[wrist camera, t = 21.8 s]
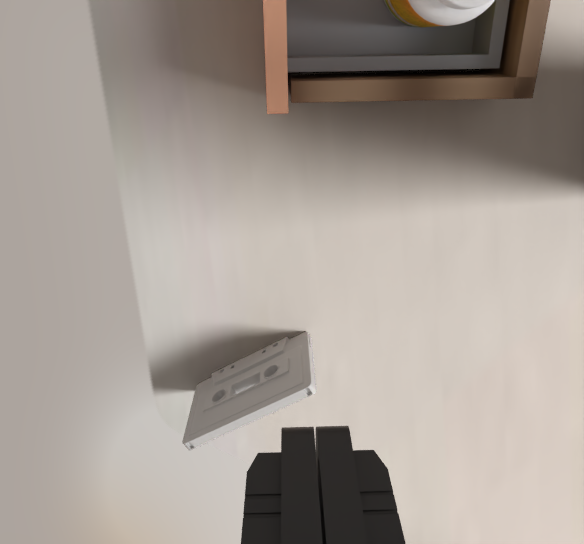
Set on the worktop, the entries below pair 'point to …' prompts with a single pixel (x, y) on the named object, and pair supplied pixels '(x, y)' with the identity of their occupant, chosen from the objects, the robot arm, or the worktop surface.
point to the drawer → (369, 41)
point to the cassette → (251, 389)
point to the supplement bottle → (436, 11)
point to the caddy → (444, 84)
